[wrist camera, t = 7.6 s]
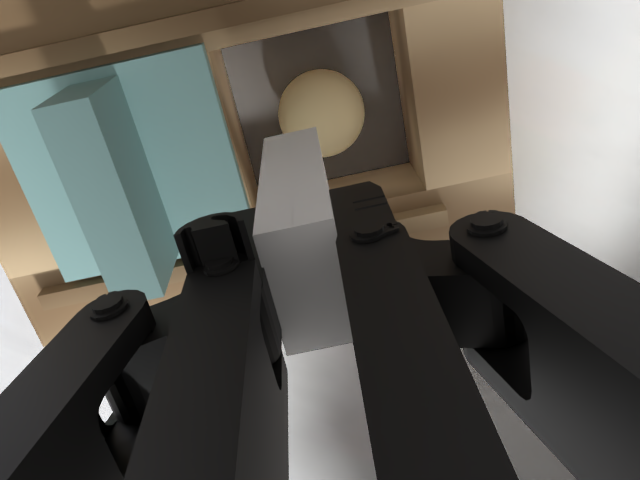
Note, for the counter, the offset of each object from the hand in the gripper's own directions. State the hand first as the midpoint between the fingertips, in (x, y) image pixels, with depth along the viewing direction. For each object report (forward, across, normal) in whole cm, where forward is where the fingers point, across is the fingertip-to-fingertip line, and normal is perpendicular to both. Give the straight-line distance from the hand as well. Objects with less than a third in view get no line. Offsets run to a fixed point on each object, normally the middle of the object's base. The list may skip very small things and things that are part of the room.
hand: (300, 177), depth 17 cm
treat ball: (+6, -1, -1) cm, 6 cm away
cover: (+3, +5, -1) cm, 6 cm away
